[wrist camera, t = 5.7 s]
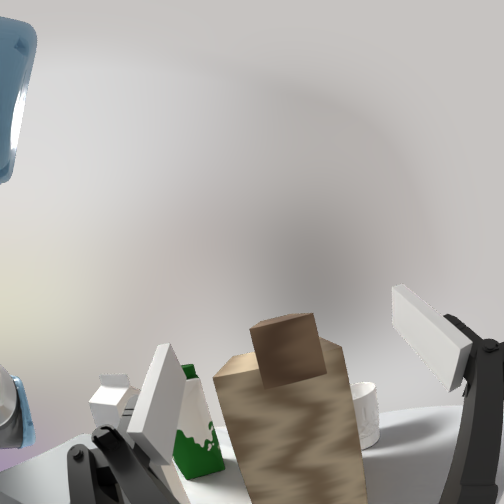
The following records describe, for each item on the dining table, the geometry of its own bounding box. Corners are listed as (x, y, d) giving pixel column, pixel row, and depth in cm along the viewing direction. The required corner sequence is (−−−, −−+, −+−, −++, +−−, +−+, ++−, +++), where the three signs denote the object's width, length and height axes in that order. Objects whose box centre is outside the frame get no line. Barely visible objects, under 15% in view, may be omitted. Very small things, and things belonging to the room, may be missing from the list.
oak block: (263, 531, 19) (212, 377, 24) (266, 476, 33) (232, 356, 37) (368, 507, 19) (341, 346, 24) (342, 458, 33) (317, 335, 37)
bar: (264, 389, 16) (249, 328, 17) (267, 350, 35) (260, 321, 36) (327, 373, 16) (312, 312, 17) (297, 343, 35) (290, 313, 36)
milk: (168, 527, 20) (107, 378, 25) (136, 516, 22) (80, 378, 27) (193, 506, 26) (144, 369, 31) (161, 498, 28) (114, 370, 33)
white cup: (377, 451, 31) (369, 397, 33) (330, 454, 35) (320, 403, 38) (386, 427, 38) (379, 378, 40) (345, 432, 42) (336, 386, 44)
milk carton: (231, 469, 37) (200, 365, 41) (181, 483, 33) (144, 376, 37) (217, 453, 44) (190, 362, 49) (174, 464, 41) (144, 371, 45)
